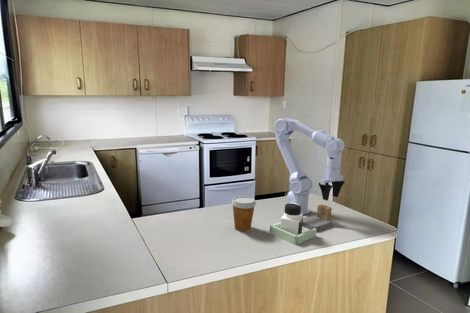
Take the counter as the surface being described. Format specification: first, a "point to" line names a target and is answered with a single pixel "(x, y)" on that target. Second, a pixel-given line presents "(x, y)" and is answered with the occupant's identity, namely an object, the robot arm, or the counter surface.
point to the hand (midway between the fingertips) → (330, 198)
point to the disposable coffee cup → (243, 212)
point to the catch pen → (291, 237)
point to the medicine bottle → (292, 219)
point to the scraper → (319, 218)
